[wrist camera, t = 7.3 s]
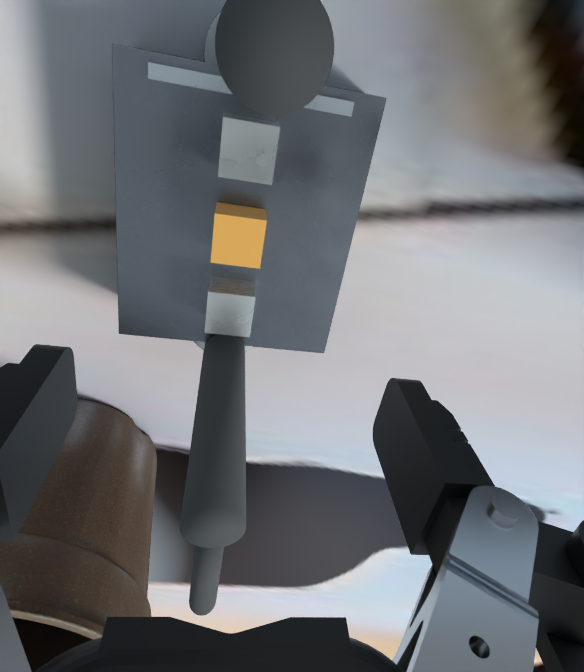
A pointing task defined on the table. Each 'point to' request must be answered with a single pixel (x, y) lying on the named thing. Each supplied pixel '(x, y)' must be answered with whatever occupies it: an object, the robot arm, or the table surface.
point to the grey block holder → (232, 188)
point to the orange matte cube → (238, 235)
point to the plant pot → (84, 537)
